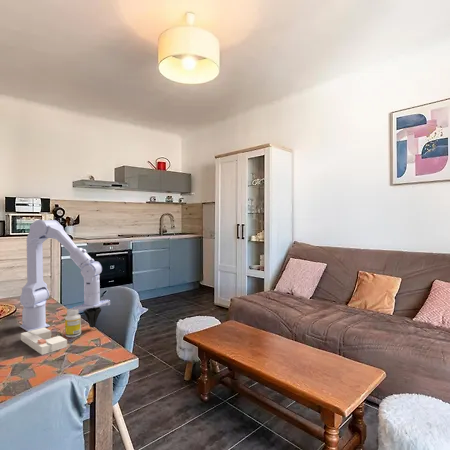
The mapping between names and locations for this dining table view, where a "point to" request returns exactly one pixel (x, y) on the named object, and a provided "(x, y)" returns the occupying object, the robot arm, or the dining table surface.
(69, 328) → the supplement bottle
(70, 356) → the dining table surface
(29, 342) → the socket dock
